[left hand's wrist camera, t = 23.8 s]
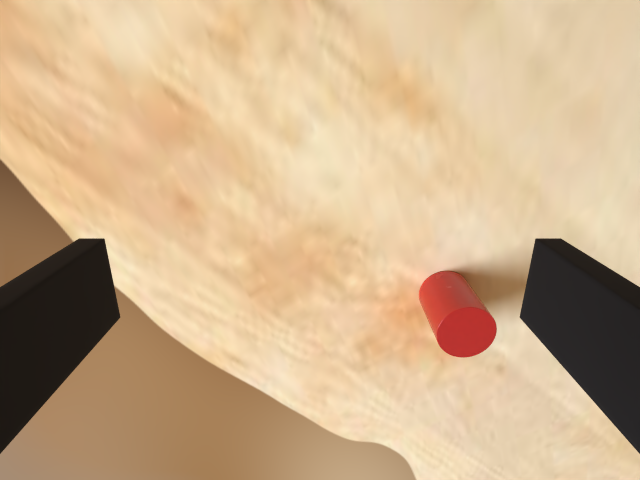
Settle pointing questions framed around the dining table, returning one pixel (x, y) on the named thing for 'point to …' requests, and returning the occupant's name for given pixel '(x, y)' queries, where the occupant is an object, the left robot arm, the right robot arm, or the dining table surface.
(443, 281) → the canister
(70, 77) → the dining table surface
